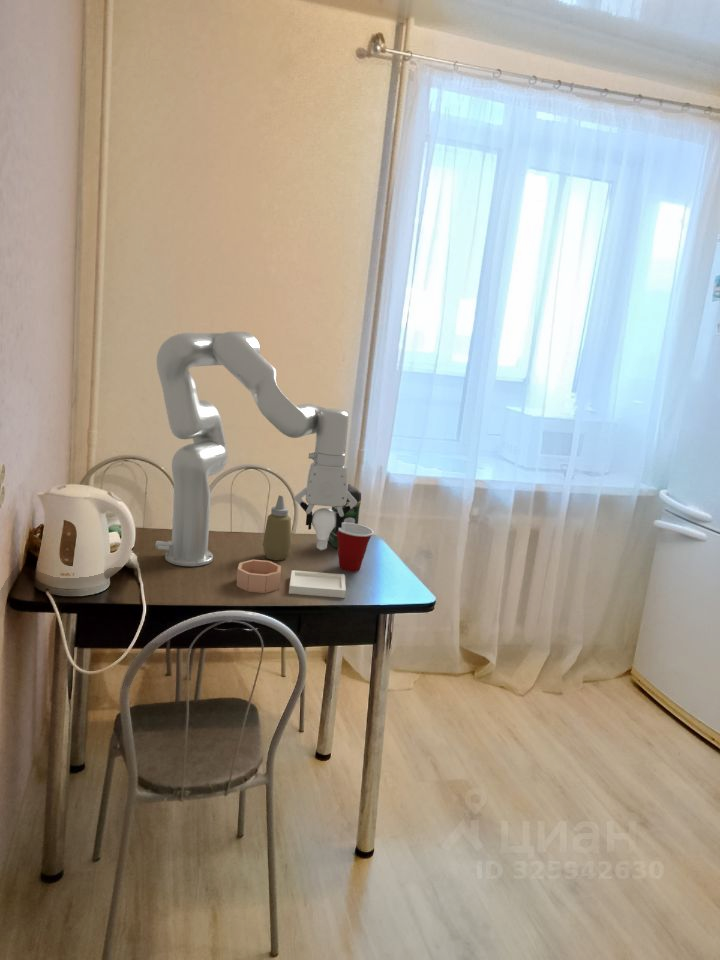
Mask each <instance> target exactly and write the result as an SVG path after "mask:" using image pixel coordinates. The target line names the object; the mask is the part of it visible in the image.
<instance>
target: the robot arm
mask: <svg viewBox="0 0 720 960" xmlns="http://www.w3.org/2000/svg"><path fill="white" fill-rule="evenodd" d="M207 366H209V367H210V366H222V367H224V368H225V369H226V370H227V371H228V372H229V373H230V374H231V375H233V377H235V378H236V380H237V381H238V382H239V383H241V385H242V386H243V387H245V388H246V389H247V390H248V391H249V392H250V394H251V395H252V398H253V400H254V403H255V404H256V406H257V408H258V410H259V411H260V413H261V414H262V415H263V417H265V419H266V420H268V422H269V423H271V425H272V426H274V428H276V430H278V432H280V433H282V434H283V436H286V437H288V438H291V439H298V438H302V437H305V436H308V435H313V434H316V435H315V445H314V446H315V447H314V451H313V452H311V453H310V452H308V459H311V460H312V461H313V462H311V463H310V465H309V466H310V467H309V469H308V474H307V481H306V487H304V488H303V489H302V490H301V491H299V492H298V493H297V494H296V495H295V496H294V500H295V501H296V502H297V504H298V505H299V506H300V507H301V508H302V510H303V511H304V512H305V513H306V519H305V526H308V527H307V529H308V530H312V515H313V508H314V506H322V507H323V506H324V507H331V508H332V507H337V510H338V514H337V521H336V532H338V531H339V528H341V527H342V517H343V516H344V515H345V514H346V513H347V512H348V511H349V510H350V509H351V508H353V507H354V506H355V505H356V504H357V501H356V500H355V498H354V497H353V496H352V495H351V494H350V493H349V492H348V490H347V489H348V484H349V483H348V482H349V480H348V479H349V471H348V470H349V469H348V467H347V465H346V464H345V462H346V450H347V440H348V429H349V419H350V418H349V417H350V416H349V414H348V412H347V411H345V410H343V409H338V408H325V407H321V406H319V405H317V404H316V405H315V404H312V403H304V404H299V405H295V403H293V402H292V401H291V400H290V399H289V398H288V397H287V396H286V395H285V394H284V393H283V392H282V390H281V389H280V388H279V386H278V384H277V381H276V379H277V378H276V377H277V369H276V368H275V367H274V365H272V364H271V363H270V362H269V361H268V360H267V359H265V357H264V356H263V355H261V347H260V343H259V341H258V339H257V338H256V337H255V335H253V334H251V333H250V332H246V331H226V332H223V333H222V332H221V333H218V332H216V333H215V332H214V333H213V332H212V333H211V332H209V333H208V332H205V333H204V332H203V333H202V332H201V333H200V332H199V333H197V332H196V333H195V332H184V333H183V332H182V333H177V334H174V335H172V336H170V337H168V338H167V339H166V340H164V341H163V343H162V344H161V345H160V347H159V349H158V352H157V354H156V371H157V373H158V374H157V375H158V377H159V381H160V384H161V389H162V393H163V401H164V405H165V410H166V415H167V420H168V424H169V425H168V426H169V429H170V432H171V433H172V435H174V437H176V438H177V439H178V440H179V439H180V440H190V439H191V440H192V441H193V443H190V444H187V445H184V446H182V447H180V448H179V449H178V450H177V451H176V452H175V453H174V454H173V457H172V459H171V472H172V473H171V474H172V479H173V509H172V510H173V511H172V530H171V531H172V532H171V533H172V534H171V540H168V541H162V540H156V541H155V544H154V545H155V549H157V550H158V551H165V552H166V553H165V557H164V558H165V561H167V562H168V563H170V564H172V565H175V566H176V565H177V566H180V567H200V566H204V565H208V564H210V563H212V561H213V560H214V555H213V552H211V551H210V550H208V549H209V548H208V547H209V535H210V534H209V531H210V512H211V489H210V484H209V481H208V480H209V479H208V477H210V476H213V475H215V474H218V473H220V472H221V471H223V470H224V469H225V467H226V466H227V463H228V459H229V458H228V457H229V456H228V447H227V442H226V439H225V438H226V437H225V433H224V432H225V431H224V426H223V421H222V418H221V414H220V412H219V410H218V408H217V407H216V406H215V405H214V404H213V403H212V402H209V401H206V400H200V399H199V395H198V392H197V391H198V389H197V384H196V382H195V380H194V378H193V376H192V374H191V373H190V368H192V367H194V368H195V367H207ZM304 496H305V500H304V499H303V497H304ZM347 499H348V500H349V501H350V503H349V504H348V505H346V506H345V504H346V501H347ZM342 506H345V507H342Z"/></svg>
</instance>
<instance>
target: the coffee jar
mask: <svg viewBox="0 0 720 960" xmlns="http://www.w3.org/2000/svg"><path fill="white" fill-rule="evenodd" d="M347 490H348V492H349V493H350V494H351V495H352V496H353V497H354V498H355V500H356V501H357V504H356V505H355V506H354V507H353V508H351V509H350V510H349V511H348V512H347V513H346V514H345V515H344V516H343V517H342V523H344V522H345V523H355V524H359V516H360V508H361V504H362V503H361V502H362V492H361V491H360V490H359V489H358V488H357V487H354V486H353V485H352V484H351V483H350V484H349V483H348V489H347ZM349 503H350V501H349V500H348V499H347V501H346V504H345V506H346V505H348V504H349ZM345 506H342V507H345ZM331 510H332V511H333V512H334V513H335V514H336V517H337V514H338V510H337V507H332V506H331ZM328 541H329V543H330V545H331V546H333V547H334V548H336V549H338V541H337V532H336V528H335V527H334V529H333V530H332V531H331V533H330V535H329V538H328Z"/></svg>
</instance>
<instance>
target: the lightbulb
mask: <svg viewBox="0 0 720 960" xmlns="http://www.w3.org/2000/svg"><path fill="white" fill-rule="evenodd" d="M336 521H337V517H336V514H335V513H334V512H333V511H332V508H329V507H327V506H324V507H323V506H322V507H319V508H317V509H316V510H314V512H312V524H311V526H312V527H313V529H314V532H315V535H316V548H317V549H318V550H320V551H323V550H326V549H327V548H328V541H329V535H330V533H331V531H332V530H333V529H334V527H335V526H336Z"/></svg>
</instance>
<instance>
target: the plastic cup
mask: <svg viewBox="0 0 720 960" xmlns="http://www.w3.org/2000/svg"><path fill="white" fill-rule="evenodd" d="M335 528H336V526H335ZM373 535H374V530H373V529H372V528H370V527H369V526H365V525H363V524H359V523H358V524H355V523H345V522H344V523H342V527H341V528H339V531H338V532H337V541H338V548H337V556H338V566H339V569H340V570H341V571H344V572H350V573H352V572H353V573H356V572H358V571H360V570H361V567H362V564H363V560H364V557H365V554H366V551H367V548H368V545H369V544H368V543H369V541H370V540H371V537H372V536H373Z"/></svg>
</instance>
